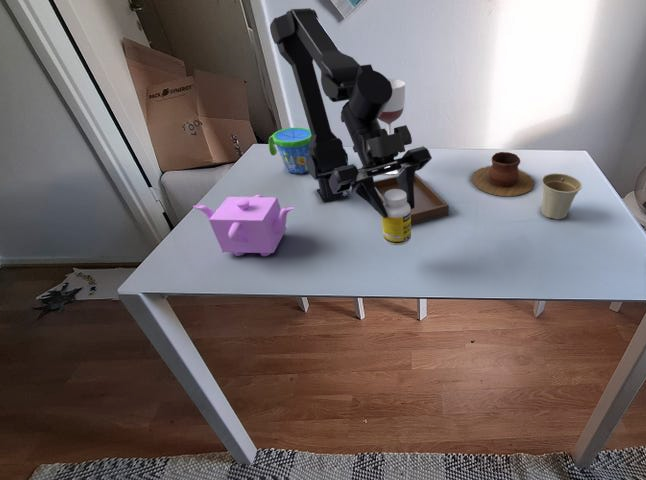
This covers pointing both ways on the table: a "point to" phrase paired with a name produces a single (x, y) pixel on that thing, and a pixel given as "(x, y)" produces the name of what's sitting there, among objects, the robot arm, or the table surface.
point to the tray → (416, 198)
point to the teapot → (248, 224)
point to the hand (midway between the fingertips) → (399, 212)
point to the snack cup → (292, 148)
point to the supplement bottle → (396, 218)
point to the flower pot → (558, 194)
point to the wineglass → (394, 106)
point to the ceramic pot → (503, 176)
